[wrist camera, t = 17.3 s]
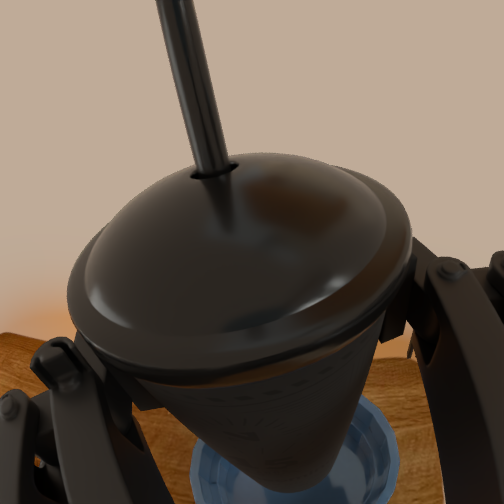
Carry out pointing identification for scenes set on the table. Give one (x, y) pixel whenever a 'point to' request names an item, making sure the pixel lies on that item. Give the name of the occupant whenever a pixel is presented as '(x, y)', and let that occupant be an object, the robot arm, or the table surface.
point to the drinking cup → (245, 288)
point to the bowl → (330, 488)
